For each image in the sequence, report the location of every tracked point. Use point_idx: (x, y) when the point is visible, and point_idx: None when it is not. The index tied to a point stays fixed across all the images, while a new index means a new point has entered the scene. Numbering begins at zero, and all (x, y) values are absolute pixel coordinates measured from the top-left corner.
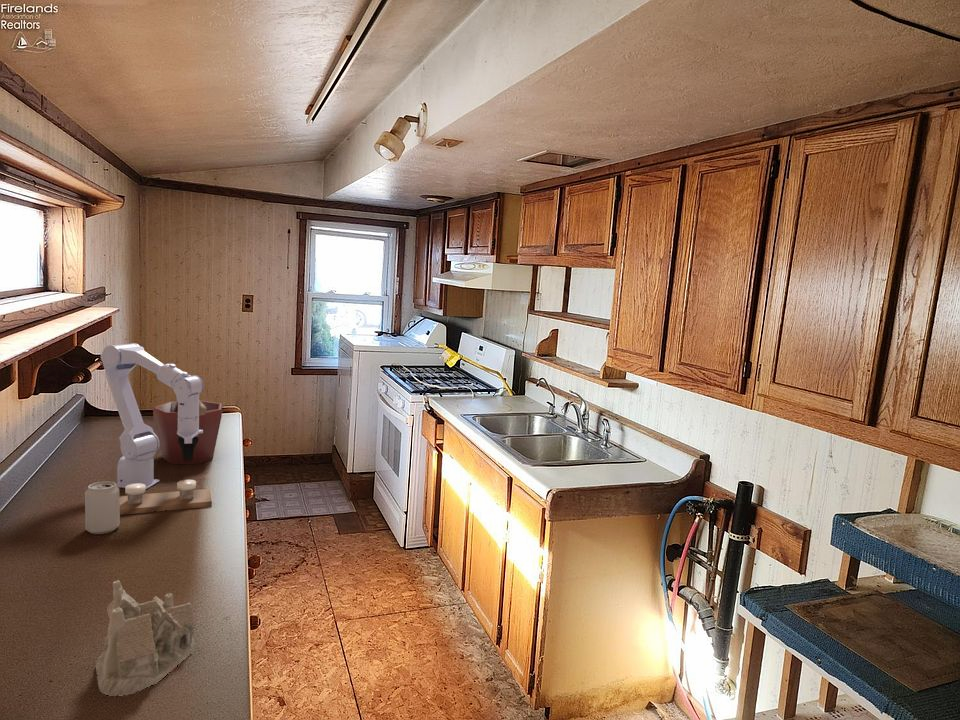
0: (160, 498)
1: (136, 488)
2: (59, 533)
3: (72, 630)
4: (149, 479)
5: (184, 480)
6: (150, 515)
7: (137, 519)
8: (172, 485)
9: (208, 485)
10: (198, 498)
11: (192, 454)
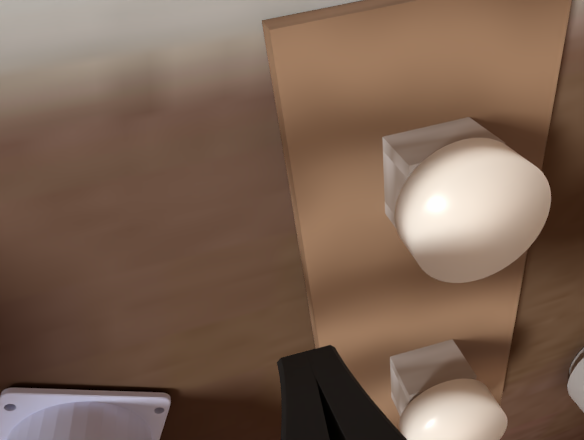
0: (412, 290)
1: (495, 424)
2: (577, 432)
3: None
4: (109, 434)
5: (430, 251)
6: (544, 263)
7: (567, 293)
8: (74, 304)
9: (39, 65)
10: (483, 81)
11: (379, 411)
